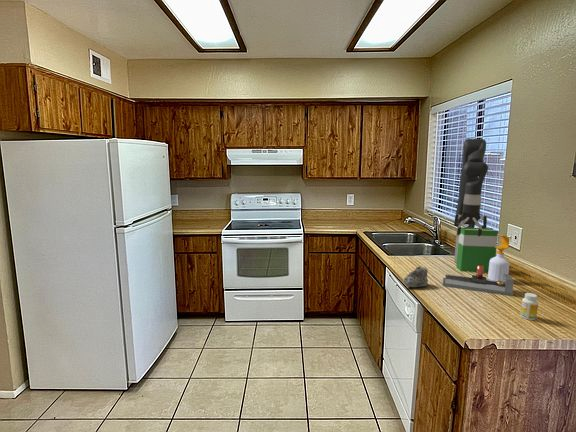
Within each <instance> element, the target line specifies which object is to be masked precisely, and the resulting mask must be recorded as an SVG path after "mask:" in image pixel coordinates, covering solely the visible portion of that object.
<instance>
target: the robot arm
mask: <svg viewBox="0 0 576 432" xmlns="http://www.w3.org/2000/svg"><path fill="white" fill-rule="evenodd" d="M486 150H487V142H486V140H485V139H483V138H466V139H465V140H464V142H463V146H462V165H461V172H460V179H459V187H458V200H457V206H456V210H455V211H456V212H455V217H454V223H453V225H454V227H457V231H456V238H455V251H454V261H453V262H454V263H455V264H457V254H458V242H459V235H460V233H461V227H462V226H464V225H467V226H465V227H466V228H476V227H475V225H476V226H477V228H478V236H479V237H480V235H481V233H482V229H483V228H487V224H488V221H487V220H488V217H487V215H485V214H484V215H481V214H480V213H481V204H482V188H483V183H484V181H485V178H486V176H487V174H488V171H489V165H488V164H487V163H486V162H484V158H485V154H486ZM480 219H481V221H482V222H483V224H482V225H481V224H480V223H479V220H480Z"/></svg>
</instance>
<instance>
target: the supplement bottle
mask: <svg viewBox="0 0 576 432" xmlns="http://www.w3.org/2000/svg"><path fill="white" fill-rule="evenodd" d="M537 299H538V295H537V294H535V293H531V292H526V293H524V298H522V300H521V306H520V312H519V315H520V317H521V318H522V319H525V320H529V321H534V320H536V319H537V316H538V309H539V301H538V300H537Z"/></svg>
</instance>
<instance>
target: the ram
mask: <svg viewBox="0 0 576 432" xmlns="http://www.w3.org/2000/svg"><path fill="white" fill-rule="evenodd" d="M483 269H484V266H482V265H477V272H475V273H476V275H475V274H474V275H473V274H472V275H471V278H472V282H473V283H481V284H486V283H487V280H488V278H487V277H486V276H484V272H483Z"/></svg>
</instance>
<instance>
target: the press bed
mask: <svg viewBox="0 0 576 432" xmlns="http://www.w3.org/2000/svg"><path fill="white" fill-rule="evenodd" d="M442 286H443V287H448V288H455V289H463V290H469V291H475V292H476V291H477V292H483V293H488V294H489V293H490V294H495V295H502V296H510V297H514V291H513V290H514V278H513V276H512V275H511V274H503V282H502V281H493V280H489V279H487V283H486V284H481V283H473V282H472V277H469V276H462V275H461V276H460V275H455V274H445V277H443V279H442Z"/></svg>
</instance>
